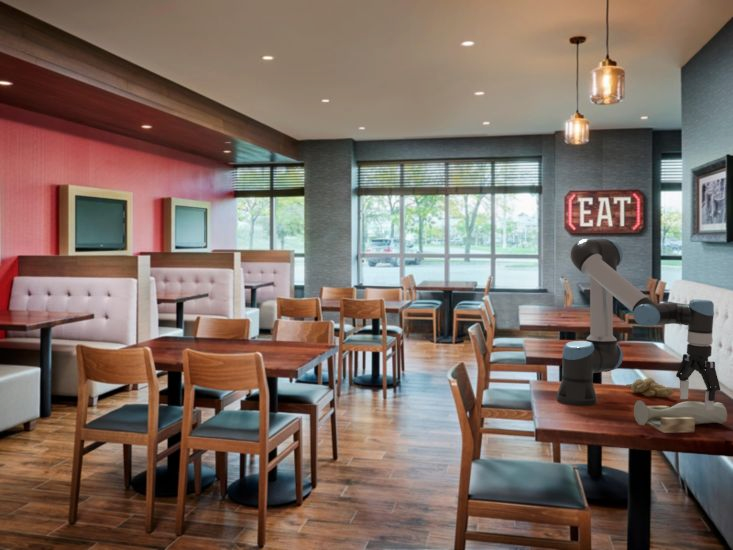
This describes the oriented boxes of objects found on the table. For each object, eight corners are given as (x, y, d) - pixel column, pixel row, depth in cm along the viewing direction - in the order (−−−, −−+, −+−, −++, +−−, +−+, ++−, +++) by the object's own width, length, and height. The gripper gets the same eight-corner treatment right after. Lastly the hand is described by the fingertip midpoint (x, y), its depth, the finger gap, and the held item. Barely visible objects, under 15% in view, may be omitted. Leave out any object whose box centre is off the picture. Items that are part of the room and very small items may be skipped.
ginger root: (622, 385, 264) (628, 368, 263) (660, 396, 261) (665, 379, 260) (630, 395, 249) (636, 377, 248) (670, 407, 246) (676, 389, 245)
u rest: (663, 432, 204) (664, 419, 203) (637, 418, 219) (637, 406, 219) (694, 432, 205) (695, 418, 205) (665, 418, 221) (666, 405, 220)
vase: (632, 400, 217) (710, 400, 220) (634, 424, 215) (712, 424, 219) (646, 400, 208) (727, 401, 212) (649, 425, 206) (729, 425, 210)
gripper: (734, 351, 200) (730, 414, 201) (686, 337, 225) (683, 394, 226) (713, 351, 199) (709, 414, 200) (667, 337, 224) (664, 394, 225)
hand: (695, 404), depth 213 cm, fingers open, 13 cm apart
